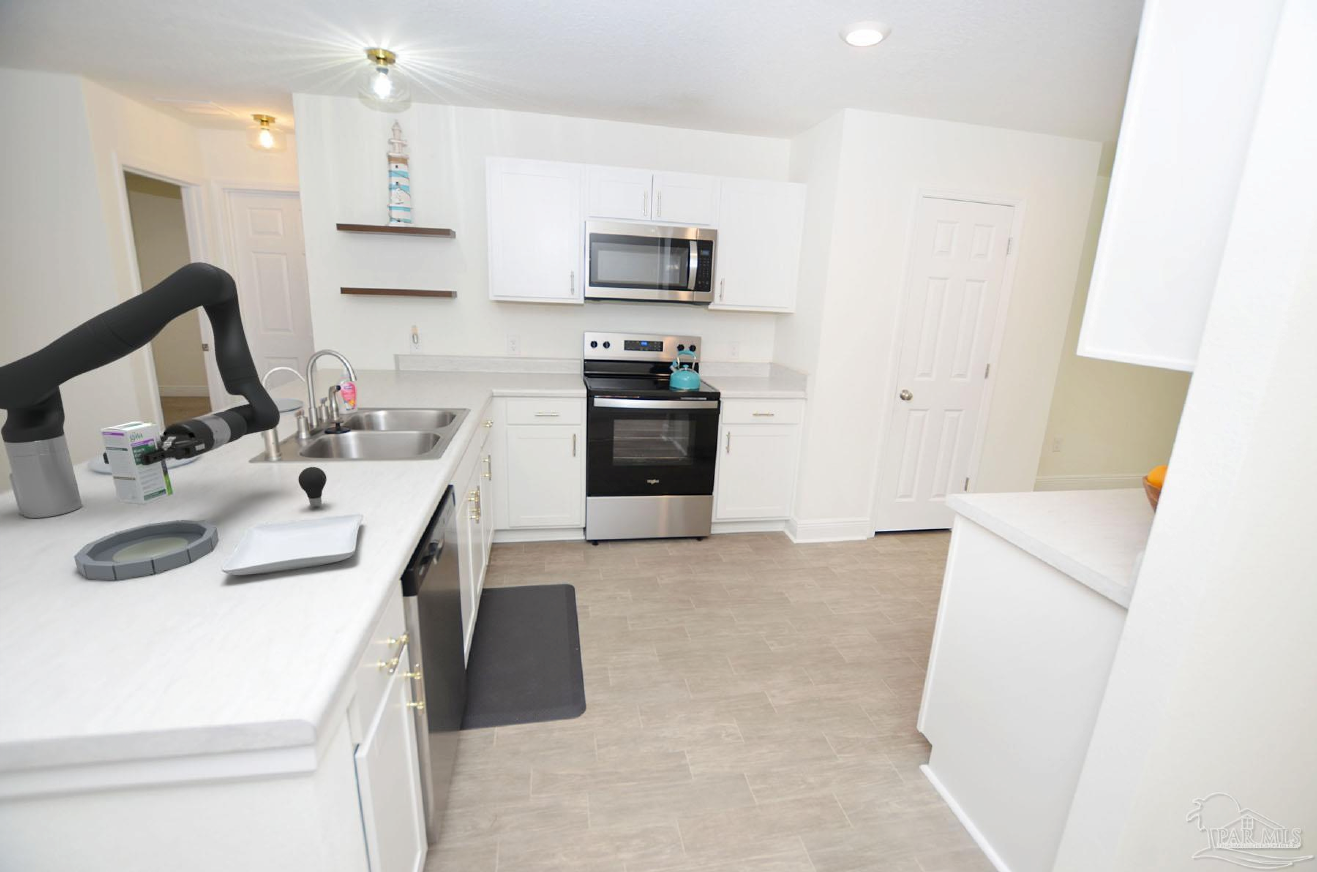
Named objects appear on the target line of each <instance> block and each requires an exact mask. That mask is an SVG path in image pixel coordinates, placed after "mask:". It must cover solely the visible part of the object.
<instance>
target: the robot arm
mask: <svg viewBox="0 0 1317 872" xmlns="http://www.w3.org/2000/svg"><path fill="white" fill-rule="evenodd" d="M237 288H238V287H237V284H236V282H235V279H234V277H233V276H232V275H231V274H230V273H229V272H227V271H226V270H224V269H222V268H221V267H219V266H215V265H213V264H210V263H207V262H191V263H188V264H185V265H183V266H182V267H180V268H178V269H177V270H175V271H174V272H173V273H171V274H170V275H168V276H167V277H166V278H164V279H163V280H161V281H160V282H159V283H157V284H156V285H154V286H152V287H150V288H149V289H147V290H146V291H143V292H142V293H140V294H138V295H136V296H134V297H132V298H128V299H127V300H125V301H123V302H121V303H119V304H118V305H116V306H114V307H112V308H111V307H110V308H109V309H108V310H105V311H103V312H101V313H99V314H97V315H96V316H94V317H92V318H90V319H88V320H86V321H85V322H83V323H82V324H81V323H80V324H79V325H78V326H76V327H75V328H73V329H72V330H69V331H68V332H66V333H65V334H63V335H61V336H60V337H58V338H57V339H55V340H53V341H52V342H50V343H49V344H48V345H46V346H44V347H43V348H41V349H39V350H37V351H35V352H33V353H31V354H29V355H26V356H23V357H22V358H19V359H16V360H15V361H12V362H10V363H6V364H4V365H1V366H0V410H4V411H5V410H6V413H7V415H6V420H5V422H4V424H3V425H2V427H1V428H0V429H1V430H0V432H1V433H0V434H1V439H2V441H3V444H4V448H5V452H6V455H7V459H8V462H9V466H10V469H11V472H10V473H9V480H10V483H11V486H12V490H13V495H14V498H15V502H16V506H17V509H18V512H19V515H23V516H24V517H25V518H28V519H29V518H30V519H32V518H33V519H39V518H40V519H41V518H48V517H55V516H59V515H60V516H61V515H64V514H67V513H71V512H74V511H76V510H78V509H80V508H82V507H83V504H82V503H83V501H82V498H81V495H80V490H79V486H78V483H77V479H76V474H75V471H74V465H73V461H72V457H71V454H70V450H69V445H68V442H67V438H66V434H65V430H64V425H65V419H66V418H65V417H66V415H65V410H64V409H65V408H64V404H63V403H64V402H63V399H62V394H61V389H60V386H61V385H62V384H64V383H66V382H68V381H70V380H71V379H73V378H75V377H77V376H80V375H83V374H86V373H89V372H91V371H94V370H97V369H99V368H102V367H105V366H106V365H109V364H111V363H114V362H116V361H118V360H120V359H123V358H124V357H126V356H128V355H130V354H132V353H133V352H136V351H137V350H139V349H140V348H143V347H144V346H145V345H147V344H149V343H150V342H151V341H152V340H154V339H155V338H156V337H157V336H158V335H159V334H160V333H161V332H162V330H164V328H165V327H166V326H167V325H168V324H169V323H171V322H172V321H173V320H175V319H176V318H178V317H179V316H182V315H184V314H186V313H188V312H191V311H192V310H195V309H197V308H200V307H202V308H203V309H204V311H205V313H206V315H207V317H208V320H209V323H210V325H211V328H212V330H211V331H212V333H213V341H214V342H213V344H214V355H215V362H216V365H217V368H218V369H217V370H218V372H219V375H220V377H221V380H222V383H223V386H224V389H225V390H226V393H227V394H229V395H231V396H242V397H243V398H244V399H245V400H246V402H248V403H247V404H243V405H238V406H235V407H231V408H228V409H225V410H223V411H219V412H216V413H212V414H208V415H201V416H197V417H194V418H189V419H186V420H182V421H179V422H176V423H172V424H170V425H168V426H167V427H166V428H165V429H164V431H163V433H162V434H159V435H160V439H161V444H162V447H161V449H155V450H152V451H149V452H146V453H143V454H141V455H140V459H141V464H142V465H150V464H153V463H156V462H159V461H162V460H165V461H171V460H173V459H175V460H177V461H180V460H186V459H187V460H188V459H192V458H195V457H197V456H201V455H202V454H206V453H208V452H211V451H214V450H216V449H218V448H221V447H222V446H225V445H227V444H229V443H230V444H231V443H233V442H235V441H237V440H239V439H241V438H242V437H244V436H247V435H252V434H256V433H261V432H266V431H270V430H273V429H275V428H276V427H278V425H279V424H280V421H281V420H280V418H281V415H280V414H281V413H280V410H279V408H278V406H277V404H276V403H275V401H274V400H273V398H272V397H271V395H270V394H269V392H268V391H267V389H266V388H265V386H263V384H262V382H261V380H260V377H259V374H258V371H257V368H256V365H255V362H254V360H253V356H252V353H251V350H250V347H249V345H248V341H247V336H246V334H245V330H244V324H243V321H242V320H243V319H242V316H241V310H240V302H239V293H238V289H237ZM102 457H103V463H105V465H109V461H108V458H107V454H106V451H104V453H103V454H102Z"/></svg>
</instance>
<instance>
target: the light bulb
mask: <svg viewBox="0 0 1317 872" xmlns="http://www.w3.org/2000/svg"><path fill="white" fill-rule="evenodd" d="M297 481H298V483H299V486H300V487H301V489H302V490H303V491H304V492H305V493H306V496H307V498H308V501H309V506H310V507H313V508H314V509H318V508H319V507H320V506H321V505H322V504H323V503H322V502H323V499H322V496H323V491H324V490H323V489H324V488H325V485H326V483H327V475H326V473H325V471H324V470H322V469H321V468H319V467H317V466H310V467H306V468H305V469H302V470H301V472H300V473H299V475H298V479H297Z"/></svg>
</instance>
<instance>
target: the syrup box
mask: <svg viewBox="0 0 1317 872" xmlns="http://www.w3.org/2000/svg"><path fill="white" fill-rule="evenodd" d="M100 434H101V439H102V442H103V445H104V449H105V452H106V454H107V458H108V461H109V464H108V465H109V468H110V472H111V476H112V480H113V484H114V487H115V492H116V496H117V499H118V502H119V503H125V504H133V505H141V506H142V505H143V506H144V505H146V504H148V503H151V502H154V501H157V500H160V499H162V498H164V497H169V496H172V495H173V493H174V492H173V488H172V483H171V479H170V476H169V475H170V474H169V471H168V467H167V462H166V460H162V461H159V462H156V463H153V464H150V465H142V464H141V459H140V455H141V454H143V453H146V452H149V451H152V450H155V449H161V447H162V444H161V439H160V435H161V434H160V431H159V427H158V424H157V423H156V422H150V421H131V422H127V423H124V424H119V425H118V424H117V425H114V426H110V427H104V428H103V427H102V428H100Z"/></svg>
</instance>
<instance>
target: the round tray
mask: <svg viewBox="0 0 1317 872" xmlns="http://www.w3.org/2000/svg"><path fill="white" fill-rule="evenodd" d="M218 542H219V535H218V530H217V526H215V525H214V524H212V523H209V522H208V521H205V520H195V519H194V520H192V519H191V520H189V519H188V520H187V519H181V520H179V519H178V520H170V521H163V522H162V521H161V522H152V523H148V524H143V525H139V526H135V527H131V528H128V529H124V530H119V531H116V532H114V533H109V534H108V535H105V536H103V537H101V538H98V539H96V540H94V541H91V542H88V543H87V544H85V545H84V546H83V547H82V548H81V549H79V551H78V552H76V554H75V555H74V556H73V559H74V562H75V566H76V569H77V572H78V573H79V574H81V575H82V576H83V577H84V578H85V579H86V580H95V579H97V580H99V579H100V580H102V581H121V579H122V580H127V579H133V578H132V577H135V578H138V577H137V576H141V577H146V576H145V575H147V576H151V575H150V574H154V573H155V574H156V573H157V574H160V573H159V572H161V573H163V572H162V571H164V570H167V571H170V570H172V569H171V568H173V569H176V568H179V567H178V566H180V565H183V566H186V565H188V563H189V562H190V563H193V562H195V561H197V560H198V558H199V559H201V558H202V557H204V556H206V555H209V553H211V552H213V551H214V550H215V548H216V546H217V544H218ZM210 551H211V552H210ZM205 554H206V555H205ZM196 559H197V560H196ZM194 560H195V561H194ZM190 563H189V564H190ZM185 564H186V565H185ZM180 567H181V566H180ZM169 569H170V570H169ZM164 572H165V571H164ZM155 574H154V575H155ZM100 580H99V581H100Z"/></svg>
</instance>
